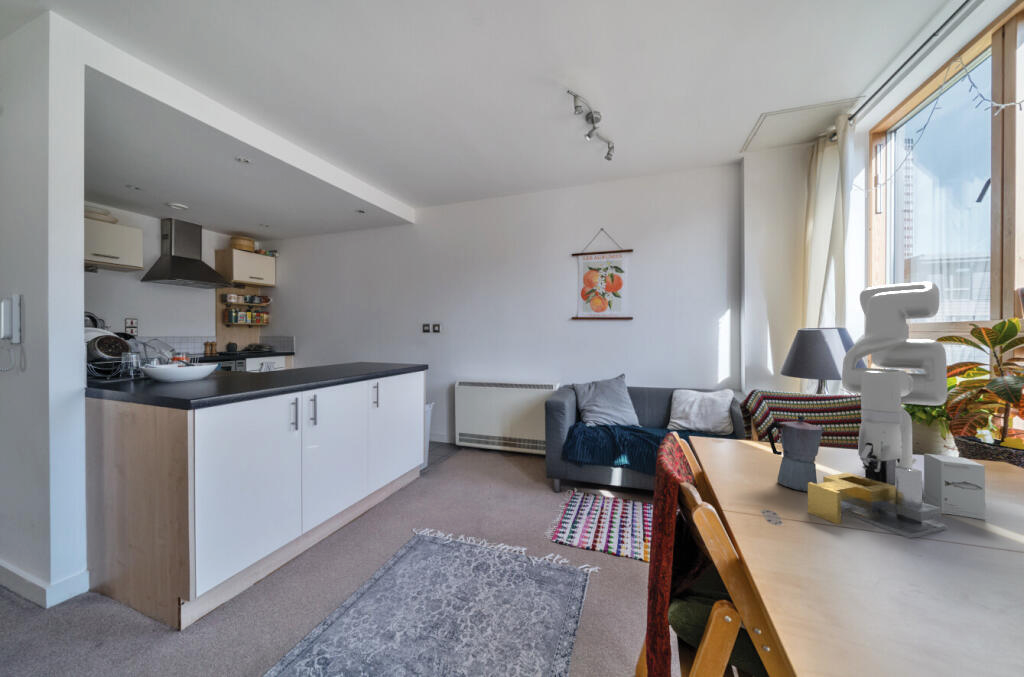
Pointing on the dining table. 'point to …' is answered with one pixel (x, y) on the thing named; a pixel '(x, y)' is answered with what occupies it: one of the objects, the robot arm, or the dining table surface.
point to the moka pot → (797, 452)
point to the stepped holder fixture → (876, 502)
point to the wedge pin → (887, 471)
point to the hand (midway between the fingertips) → (881, 483)
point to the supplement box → (955, 485)
